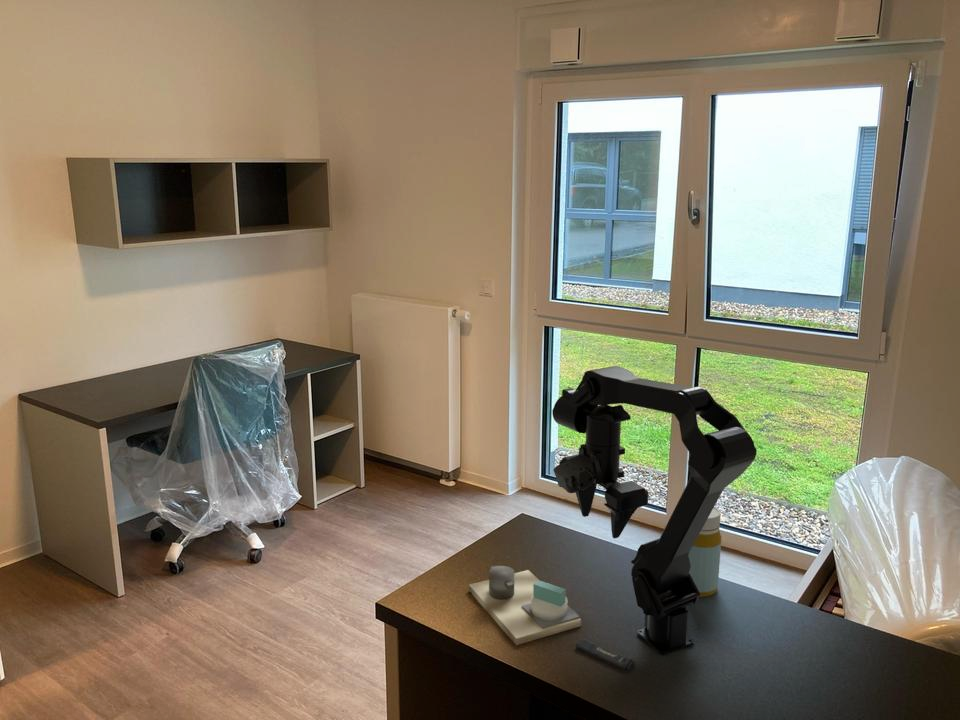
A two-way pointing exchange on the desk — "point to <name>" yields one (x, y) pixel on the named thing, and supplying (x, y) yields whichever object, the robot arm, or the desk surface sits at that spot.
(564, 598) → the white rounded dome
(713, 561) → the bottle
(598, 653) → the usb stick
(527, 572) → the board
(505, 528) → the desk surface
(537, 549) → the desk surface
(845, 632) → the desk surface
